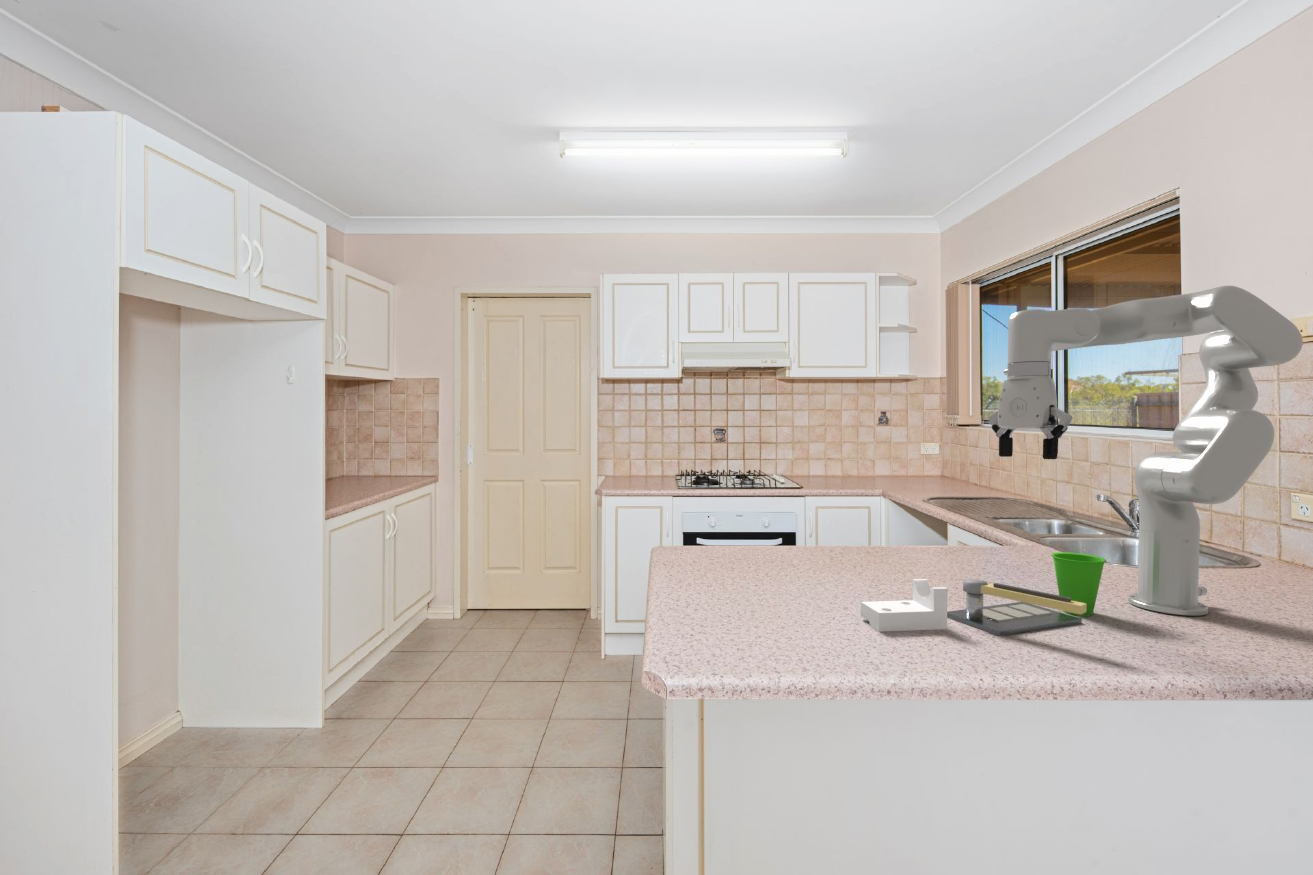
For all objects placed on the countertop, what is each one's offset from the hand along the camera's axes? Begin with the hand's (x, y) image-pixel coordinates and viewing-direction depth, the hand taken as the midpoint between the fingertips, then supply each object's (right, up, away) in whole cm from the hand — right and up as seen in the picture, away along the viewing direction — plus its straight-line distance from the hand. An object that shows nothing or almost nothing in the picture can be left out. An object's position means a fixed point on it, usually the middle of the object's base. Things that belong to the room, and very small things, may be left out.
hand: (1027, 457), depth 125 cm
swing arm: (-11, -25, -16) cm, 31 cm away
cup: (+8, -31, -2) cm, 32 cm away
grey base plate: (-7, -30, -8) cm, 32 cm away
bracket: (-29, -31, -11) cm, 44 cm away
